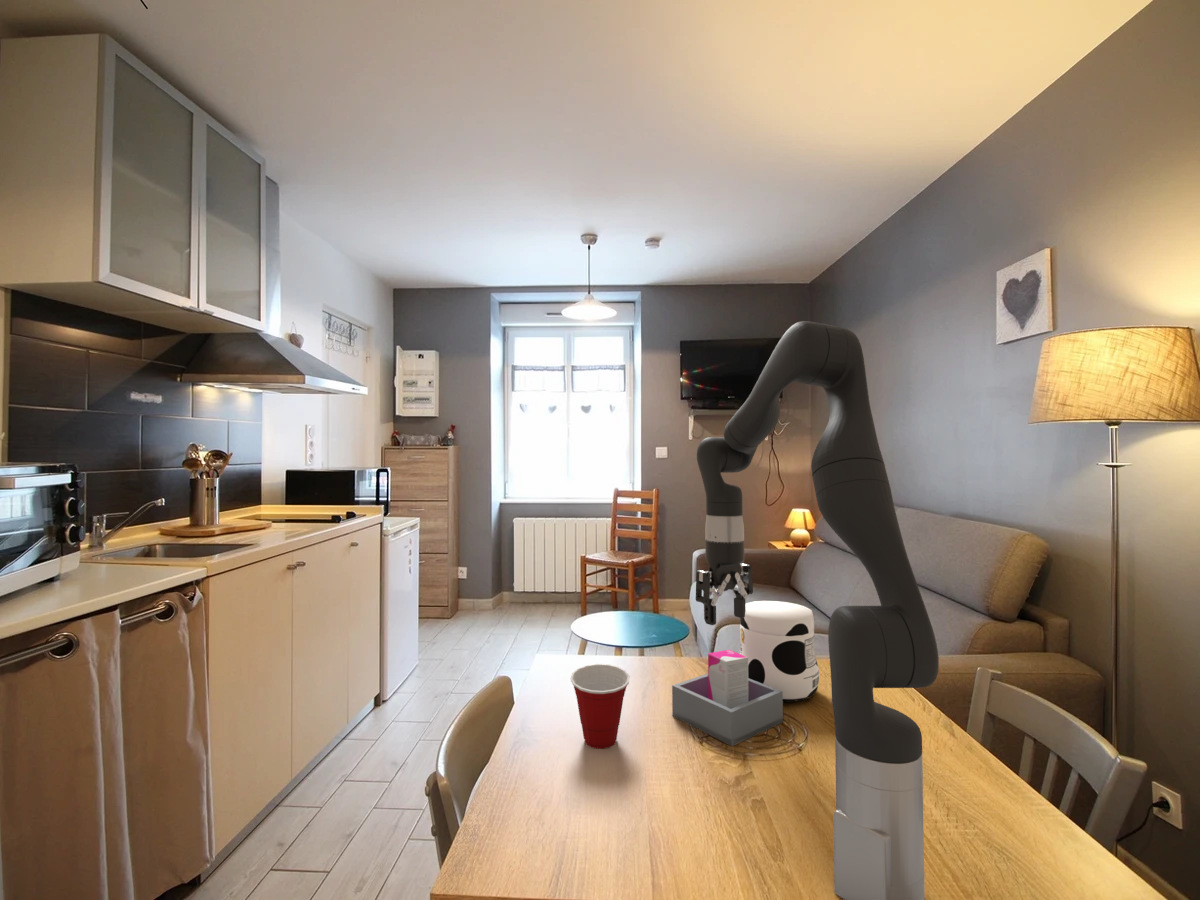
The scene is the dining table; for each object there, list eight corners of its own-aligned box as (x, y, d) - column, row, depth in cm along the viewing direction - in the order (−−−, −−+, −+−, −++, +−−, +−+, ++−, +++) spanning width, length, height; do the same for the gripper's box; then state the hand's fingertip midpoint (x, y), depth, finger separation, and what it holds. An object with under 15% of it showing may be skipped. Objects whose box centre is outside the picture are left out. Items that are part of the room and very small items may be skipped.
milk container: (729, 676, 131) (729, 599, 132) (804, 676, 131) (803, 599, 131) (746, 708, 114) (745, 620, 115) (832, 709, 113) (830, 620, 114)
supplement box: (750, 716, 108) (749, 657, 109) (726, 723, 106) (725, 662, 106) (729, 704, 114) (729, 648, 114) (706, 711, 111) (706, 653, 111)
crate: (731, 746, 99) (731, 712, 99) (672, 715, 111) (672, 685, 111) (782, 722, 108) (782, 691, 108) (722, 696, 120) (722, 668, 120)
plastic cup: (572, 759, 95) (571, 688, 95) (569, 728, 106) (569, 665, 106) (635, 755, 96) (634, 685, 96) (625, 726, 107) (625, 662, 107)
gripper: (714, 543, 103) (715, 631, 103) (762, 537, 112) (763, 618, 111) (685, 539, 109) (686, 622, 109) (733, 533, 118) (734, 611, 117)
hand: (725, 620), depth 110 cm, fingers open, 8 cm apart
